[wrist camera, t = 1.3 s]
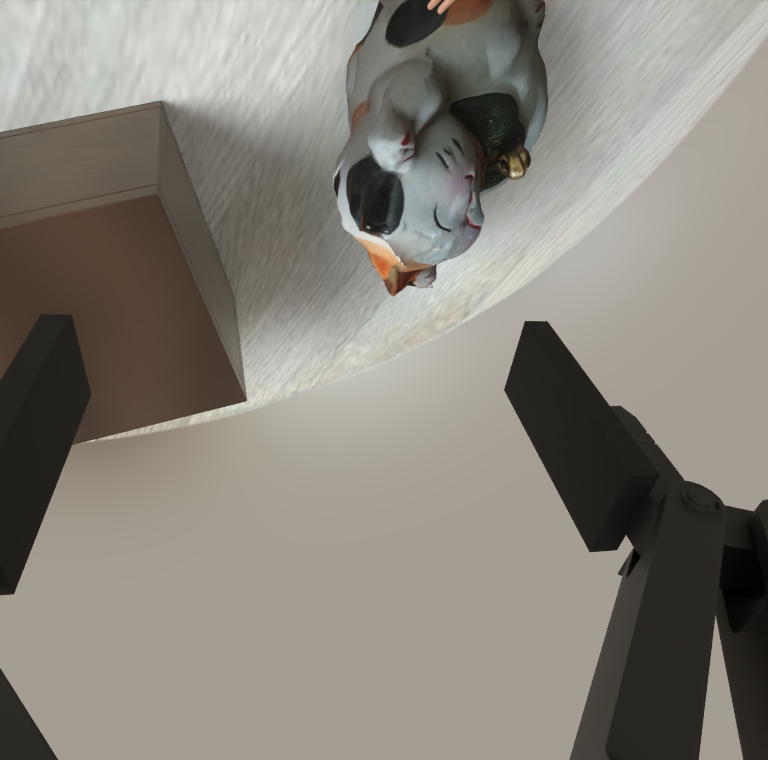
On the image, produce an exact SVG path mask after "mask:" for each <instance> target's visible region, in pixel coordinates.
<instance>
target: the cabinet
mask: <svg viewBox="0 0 768 760" xmlns="http://www.w3.org/2000/svg"><path fill="white" fill-rule="evenodd" d="M40 314H68V315H72V317H73V321H74V326H75V330H76V334H77V338H78V342H79V346H80V350H81V354H82V358H83V362H84V366H85V370H86V374H87V378H88V382H89V386H90V390H91V397H90V400H89V402H88V405H87V407H86V410H85V412H84V415H83V418H82V420H81V423H80V425H79V428H78V430H77V433H76V436H75V438H74V441H73V443H72V445H74V444H78V443H82V442H86V441H90V440H94V439H98V438H102V437H106V436H110V435H114V434H118V433H122V432H126V431H130V430H134V429H138V428H142V427H146V426H150V425H154V424H158V423H162V422H166V421H170V420H174V419H178V418H182V417H186V416H190V415H194V414H198V413H201V412H205V411H209V410H213V409H217V408H221V407H225V406H229V405H233V404H237V403H241V402H245V401H247V396H246V388H245V379H244V371H243V362H242V353H241V345H240V336H239V328H238V319H237V311H236V302H235V296H234V294H233V291H232V288H231V286H230V283H229V280H228V278H227V275H226V273H225V270H224V267H223V265H222V262H221V259H220V257H219V254H218V251H217V249H216V246H215V243H214V241H213V238H212V235H211V233H210V230H209V228H208V225H207V222H206V220H205V217H204V214H203V212H202V209H201V206H200V204H199V201H198V198H197V196H196V193H195V191H194V188H193V185H192V183H191V180H190V177H189V175H188V172H187V169H186V167H185V164H184V161H183V159H182V156H181V154H180V151H179V148H178V146H177V143H176V140H175V138H174V135H173V132H172V130H171V127H170V124H169V122H168V119H167V116H166V114H165V111H164V109H163V106H162V103H161V101H157V102H152V103H147V104H142V105H137V106H132V107H127V108H122V109H117V110H111V111H106V112H101V113H96V114H91V115H86V116H81V117H76V118H71V119H66V120H61V121H56V122H51V123H46V124H41V125H35V126H30V127H25V128H20V129H15V130H10V131H5V132H0V380H1V378H2V377H3V375H4V373H5V372H6V370H7V368H8V367H9V365H10V364H11V362H12V360H13V359H14V357H15V355H16V354H17V352H18V350H19V349H20V347H21V345H22V344H23V342H24V341H25V339H26V337H27V336H28V334H29V332H30V331H31V329H32V327H33V326H34V324H35V322H36V321H37V319H38V318H39V316H40Z"/></svg>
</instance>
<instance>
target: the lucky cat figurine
mask: <svg viewBox="0 0 768 760" xmlns="http://www.w3.org/2000/svg"><path fill="white" fill-rule="evenodd" d="M430 1H431V0H380V1H379V3H378V6H377V9H376V12H375V15H374V18H373V21H372V24H371V27H370V29H369V31H368V33H367V34H366V36H365V37H364V38H363V40H362V41H361V42H359V43H358V44H357V45H356V48H355V50H354V52H353V54H352V55H351V57H350V59H349V62H348V65H347V80H346V91H347V100H348V121H349V127H350V131H351V135H350V138H349V140H348V142H347V144H346V145H345V147H344V149H343V151H342V152H341V154H340V156H339V158H338V160H337V162H336V166H335V170H334V175H333V189H334V190H335V194H336V197H337V205H338V208H339V211H340V214H341V218H342V226H343V228H344V229H345V230H346V231H347V232H348V233H350V234H351V235H353V236H354V238H355V239H356V240H357V241H359V242H360V243H361V244H362V245H363V246H365V248H366V249H367V252H368V255H369V257H370V260H371V262H372V264H373V266H374V268H375V269H376V270H377V272H378V273H379V275H380V276H381V277H382V278H383V281H384V282H385V285H386V287H387V290H388V292H389V293H390V294H391V295H392V296H395V295H396V294H397V293H398V292H400V291H402V289H403V288H405V287H406V285H407V286H415V287H419V288H424V287H425V288H427V287H429V288H433V286H432V285H431V284H432V282H433V281H434V280H435V279H436V266H437V264H439V263H441V262H443V261H445V260H448V259H451V258H454V257H457V256H459V255H461V254H462V253H464V252H465V251H466V250H468V249H469V248H470V247H471V245H472V244H473V243H474V242H475V240H476V239H477V237H478V236H479V233H480V231H481V227H482V223H483V221H484V215H483V212H482V209H481V203H480V200H479V198H480V195H483V194H486V193H488V192H490V191H492V190H494V189H496V188H498V187H500V186H501V185H503V184H504V183H505V182H506V181H507V180H508V179H519V178H522V177H523V176H524V175H525V173H526V171H527V168H528V167H529V166H530V162H531V157H530V154H529V152H530V151H531V149H532V146H533V145H535V143H536V141H537V139H538V137H539V136H540V132H541V130H542V127H543V125H544V122H545V119H546V115H547V107H548V95H547V76H546V69H545V64H544V61H543V59H542V58H541V55H540V53H539V49H538V37H539V34H540V31H541V27H542V24H543V22H544V18H545V14H544V12H545V2H544V1H543V0H455V1H454V2H453V3H452V4H451V5H450V6H449V7H448V8H447V9H446V10H445V11H444V12H443V13H442V14H439V13H438V8H439V6H440V5H441V4H442V3H443V2H444V0H441V1H440V2H439V3H438V4H437V5H436V6H435V7H434V8H433V9H431V10H429V9H428V7H427V6H428V4H429V2H430Z"/></svg>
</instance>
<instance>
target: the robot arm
mask: <svg viewBox="0 0 768 760" xmlns="http://www.w3.org/2000/svg"><path fill="white" fill-rule="evenodd" d="M504 391H505V392H506V394H507V396H508V398H509V400H510V402H511V404H512V406H513V407H514V410H515V411H516V413H517V415H518V417H519V419H520V421H521V423H522V425H523V427H524V429H525V430H526V432H527V434H528V436H529V438H530V440H531V442H532V444H533V446H534V447H535V449H536V451H537V453H538V455H539V457H540V459H541V461H542V463H543V464H544V466H545V468H546V470H547V472H548V474H549V476H550V478H551V480H552V482H553V483H554V485H555V487H556V489H557V491H558V493H559V495H560V497H561V499H562V500H563V502H564V504H565V506H566V508H567V510H568V512H569V514H570V516H571V518H572V519H573V521H574V523H575V525H576V527H577V529H578V531H579V533H580V535H581V536H582V538H583V540H584V542H585V544H586V546H587V548H588V550H589V552H599V551H611V550H617V549H618V548H619V546H620V544H621V542H622V540H623V539H624V537H625V535H627V537H628V539H629V540H630V542H631V543H632V545H633V547H634V548H633V549H632V551H631V553H630V554H629V556H628V558H627V559H626V561H625V563H624V564H623V566H622V567H621V569H620V571H619V573H618V574H619V575H621V576H622V575H623V577H622V580H621V584H620V587H619V590H618V594H617V598H616V601H615V605H614V608H613V611H612V615H611V618H610V622H609V625H608V628H607V632H606V635H605V639H604V642H603V646H602V649H601V653H600V656H599V660H598V663H597V666H596V670H595V674H594V677H593V680H592V684H591V687H590V691H589V694H588V697H587V701H586V704H585V708H584V711H583V715H582V718H581V722H580V725H579V729H578V732H577V736H576V739H575V742H574V746H573V749H572V753H571V756H570V760H699V752H700V743H701V735H702V726H703V718H704V709H705V700H706V692H707V683H708V674H709V666H710V657H711V649H712V640H713V631H714V622H715V614H716V619H717V624H718V629H719V635H720V640H721V645H722V650H723V656H724V661H725V666H726V671H727V676H728V681H729V687H730V692H731V697H732V703H733V708H734V713H735V718H736V723H737V729H738V734H739V739H740V744H741V750H742V754H743V760H768V500H763V501H762V502H761V503H760V504H759V506H758V507H757V508H756V509H755V511H748V510H744V509H739V508H735V507H730V506H725V505H724V504H723V502H722V501H721V499H720V498H719V497H718V496H717V495H716V494H714V493H713V492H712V491H711V490H709V489H707V488H705V487H704V486H702V485H700V484H696V483H693V482H690V481H685V480H684V479H683V477H682V476H681V475H680V474H679V472H678V471H677V470H676V468H675V467H674V466H673V465H672V463H671V462H670V461H669V459H668V458H667V457H666V455H665V454H664V453H663V452H662V450H661V449H660V448H659V446H657V444H655V441H654V440H653V439H652V437H651V436H650V435H649V434H647V433H646V430H645V428H644V427H643V426H642V424H641V423H640V422H639V421H638V419H637V418H636V417H635V416H633V415H632V414H631V413H629V412H628V411H626V410H625V409H624V408H623V407H621V406H609V404H608V403H607V402H606V400H605V399H604V398H603V396H602V395H601V393H600V392H599V391H598V389H597V388H596V387H595V385H594V384H593V383H592V381H591V380H590V379H589V377H588V376H587V374H586V373H585V372H584V370H583V369H582V368H581V366H580V365H579V364H578V362H577V361H576V360H575V358H574V357H573V355H572V354H571V353H570V352H569V350H568V349H567V347H566V346H565V345H564V343H563V342H562V341H561V339H560V338H559V336H558V335H557V334H556V332H555V331H554V330H553V328H552V327H551V326H550V324H549V323H548V322H547V321H545V322H544V321H525V323H524V326H523V329H522V333H521V336H520V339H519V343H518V346H517V349H516V352H515V356H514V359H513V363H512V366H511V369H510V373H509V376H508V379H507V382H506V386H505V389H504ZM90 397H91V390H90V386H89V382H88V378H87V374H86V370H85V366H84V362H83V358H82V354H81V350H80V346H79V342H78V338H77V334H76V330H75V326H74V321H73V317H72V315H68V314H40V316H39V318H38V319H37V321H36V322H35V324H34V326H33V327H32V329H31V331H30V332H29V334H28V336H27V337H26V339H25V341H24V342H23V344H22V345H21V347H20V349H19V350H18V352H17V354H16V355H15V357H14V359H13V360H12V362H11V364H10V365H9V367H8V368H7V370H6V372H5V373H4V375H3V377H2V378H1V380H0V595H10V594H14V593H15V590H16V587H17V584H18V582H19V580H20V577H21V575H22V572H23V569H24V567H25V564H26V562H27V559H28V557H29V554H30V551H31V549H32V546H33V544H34V541H35V539H36V536H37V533H38V531H39V528H40V526H41V523H42V521H43V518H44V515H45V513H46V510H47V508H48V505H49V503H50V500H51V497H52V495H53V492H54V490H55V487H56V484H57V482H58V479H59V476H60V474H61V472H62V469H63V467H64V464H65V461H66V459H67V456H68V454H69V451H70V448H71V446H72V443H73V441H74V438H75V436H76V433H77V430H78V428H79V425H80V423H81V420H82V418H83V415H84V412H85V410H86V407H87V405H88V402H89V400H90ZM0 760H58V759H57V758H56V756H55V754H54V752H53V751H52V749H51V748H50V746H49V745H48V743H47V741H46V740H45V738H44V737H43V735H42V734H41V732H40V730H39V729H38V727H37V726H36V724H35V723H34V721H33V719H32V718H31V716H30V715H29V713H28V711H27V710H26V708H25V707H24V705H23V703H22V702H21V701H20V699H19V697H18V696H17V694H16V692H15V691H14V689H13V688H12V686H11V684H10V683H9V681H8V680H7V678H6V677H5V675H4V674H3V672H2V670H1V669H0Z"/></svg>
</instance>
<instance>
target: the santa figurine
mask: <svg viewBox="0 0 768 760" xmlns="http://www.w3.org/2000/svg"><path fill="white" fill-rule="evenodd" d="M440 1H441V0H431V1H430V2H429V4H428V6H427V7H428V9H429V10H431V9H433V8H434V7H435V6H436V5H437V4H438V3H439V2H440ZM454 1H455V0H444V2H443V3H442V4H441V5H440V6H439V8H438V13H439V14H442V13H443V12H444V11H445V10H446V9H447V8H448V7H449V6H450V5H451V4H452V3H453V2H454Z"/></svg>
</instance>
